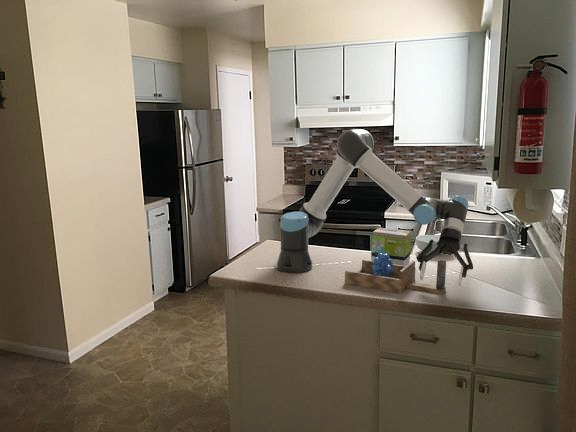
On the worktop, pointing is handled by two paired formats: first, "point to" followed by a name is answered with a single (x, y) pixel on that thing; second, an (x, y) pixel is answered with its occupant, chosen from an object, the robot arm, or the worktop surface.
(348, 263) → the worktop surface
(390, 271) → the grapes
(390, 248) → the tea box
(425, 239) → the cereal bowl
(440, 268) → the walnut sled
